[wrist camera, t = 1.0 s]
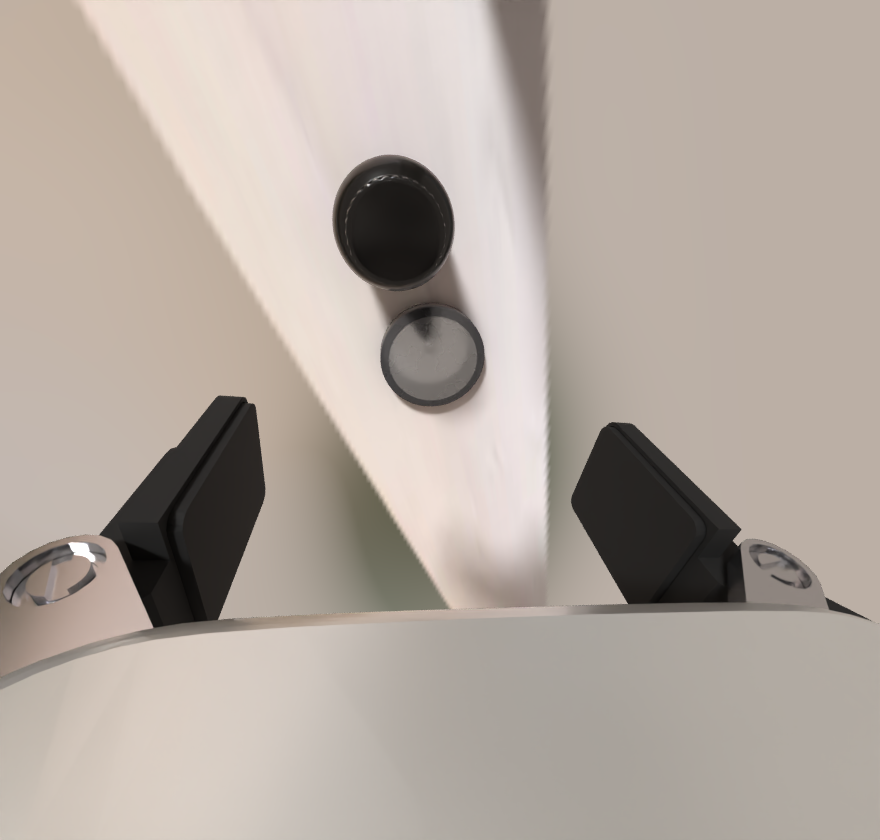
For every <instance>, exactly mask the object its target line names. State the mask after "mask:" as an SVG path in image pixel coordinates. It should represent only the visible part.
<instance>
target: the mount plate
mask: <svg viewBox="0 0 880 840" xmlns="http://www.w3.org/2000/svg"><path fill="white" fill-rule="evenodd" d="M483 364H484V346H483V342H482V339H481V336H480V334H479V332H478V330H477V329H476V327H475V326H474V325H473V323H472V322H471V321H470V319H469V318H468V317H467V316H466V315H464V314H463V313H462V312H460V311H459V310H457V309H455V308H453V307H451V306H448V305H444V304H439V303H426V304H421V305H417V306H414V307H411V308H409V309H407V310H405V311H404V312H403V313H401V314H400V315H399V316H397V317H396V318H395V319H394V320H393V322H392V323H391V324H390V325H389V327H388V328H387V330H386V332H385V334H384V337H383V340H382V344H381V368H382V372H383V375H384V377H385V380H386V381H387V383H388V385H389V386H390V387H391V389H392V390H393V391H394V392H395V393H396V394H397V395H399V396H400V397H401V398H403V399H405V400H407V401H409V402H411V403H414V404H417V405H422V406H439V405H444V404H447V403H450V402H452V401H455V400H457V399H458V398H460V397H462V396H463V395H464V394H465V393H467V392H468V391H469V390H470V389H471V388H472V387H473V385H474V384H475V383H476V381H477V379H478V378H479V376H480V373H481V371H482V368H483Z"/></svg>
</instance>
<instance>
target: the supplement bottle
mask: <svg viewBox="0 0 880 840" xmlns="http://www.w3.org/2000/svg"><path fill="white" fill-rule="evenodd" d="M332 221H333V232H334V236H335V240H336V244H337V246H338V249H339V251H340V253H341V255H342V257H343V259H344V260H345V262H346V263H347V265H348V266H349V267H350V269H351V270H352V271H353V272H354V273H355V274H356V275H357V276H359V277H360V278H361V279H362V280H364V281H365V282H367V283H369V284H371V285H373V286H375V287H378V288H380V289H384V290H390V291H404V290H409V289H413V288H416V287H418V286H421V285H423V284H424V283H426V282H427V281H429V280H430V279H432V278H433V277H434V276H435V275H436V274H437V273H438V272H439V271H440V269H441V268H442V267H443V265H444V263H445V262H446V260H447V258H448V256H449V253H450V251H451V248H452V244H453V239H454V231H455V223H454V214H453V209H452V205H451V202H450V199H449V197H448V194H447V192H446V190H445V189H444V187H443V185H442V184H441V182H440V181H439V180H438V178H437V177H436V176H435V175H434V174H433V173H432V172H431V171H430V170H429V169H428V168H426V167H425V166H424V165H422V164H420V163H419V162H417V161H415V160H413V159H410V158H407V157H404V156H399V155H381V156H377V157H373V158H371V159H368V160H366V161H364V162H362V163H361V164H359V165H358V166H357V167H355V168H354V169H353V170H352V171H351V172H350V173H349V174H348V175H347V177H346V178H345V179H344V181H343V183H342V184H341V186H340V188H339V190H338V192H337V195H336V198H335V202H334V207H333V218H332Z"/></svg>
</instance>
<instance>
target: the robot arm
mask: <svg viewBox="0 0 880 840" xmlns="http://www.w3.org/2000/svg"><path fill="white" fill-rule="evenodd" d="M264 497H265V482H264V473H263V464H262V456H261V447H260V439H259V430H258V422H257V415H256V407H255V405H254V404H250V403H248V402H247V400H246V398H245V397H234V396H218V397H216V398H215V400H214V401H213V402H212V403H211V405H210V406H209V407H208V409H207V410H206V411H205V412H204V414H203V415H202V416H201V417H200V419H199V420H198V421H197V422H196V424H195V425H194V426H193V427H192V429H191V430H190V431H189V432H188V434H187V435H186V436H185V438H184V439H183V440H182V441H181V443H180V444H179V445H178V446H177V447H175V448H172V449H170V450H169V451H168V452H167V453H166V454H165V455H164V456H163V458H162V459H161V460H160V461H159V463H158V464H157V465H156V466H155V467H154V469H153V470H152V471H151V472H150V474H149V475H148V476H147V477H146V478H145V480H144V481H143V482H142V483H141V485H140V486H139V487H138V488H137V489H136V491H135V492H134V493H133V494H132V495H131V497H130V498H129V499H128V500H127V502H126V503H125V504H124V505H123V507H122V508H121V509H120V510H119V511H118V513H117V514H116V515H115V516H114V518H113V519H112V520H111V521H110V523H109V524H108V525H107V526H106V527H105V529H104V530H103V531H102V532H101V533H100V535H80V536H72V537H67V538H63V539H60V540H57V541H53V542H50V543H47V544H45V545H43V546H41V547H39V548H36V549H34V550H32V551H30V552H28V553H27V554H25V555H24V556H22V557H20V558H19V559H17V560H16V561H14V562H13V563H12V564H10V565H9V566H8V567H7V568H6V569H5V570H4V571H3V572H1V573H0V840H880V624H879V623H876V622H873V621H871V620H869V619H867V618H865V617H863V616H861V615H859V614H857V613H855V612H853V611H851V610H849V609H847V608H845V607H843V606H841V605H839V604H837V603H835V602H833V601H831V600H829V599H828V598H826V597H825V596H824V593H823V590H822V587H821V584H820V582H819V580H818V578H817V576H816V575H815V574H814V573H813V572H812V571H811V570H810V568H809V567H808V566H807V565H805V564H804V563H803V562H802V561H801V560H799V559H798V558H797V557H795V556H794V555H792V554H791V553H789V552H788V551H786V550H784V549H782V548H780V547H778V546H776V545H774V544H771V543H769V542H766V541H763V540H758V539H746V540H745V541H743V542H742V543H741V544H740V545H739V546H737V545H736V544H735V543H734V542H733V539H734V538H735V537H736V536H737V534H738V533H739V532H740V531H741V528H740V527H739V526H737V524H735V522H733V521H732V520H731V519H730V518H729V517H728V516H727V515H726V514H725V513H724V512H723V511H722V510H721V509H720V508H719V507H718V506H717V505H716V504H715V503H714V502H713V501H711V499H710V498H709V497H708V496H706V495H705V494H704V493H703V492H702V491H701V490H700V489H699V488H698V487H697V486H696V485H695V484H694V483H693V482H692V481H691V480H690V479H689V478H688V477H687V476H686V475H685V474H684V473H683V472H682V471H681V470H680V469H679V468H678V467H677V466H676V465H675V464H674V463H673V462H671V461H670V460H669V459H668V458H667V457H666V456H665V455H664V454H663V453H662V452H661V451H660V450H659V449H658V448H657V447H656V446H655V445H654V444H653V443H652V442H651V441H650V440H649V439H648V438H647V437H646V436H645V435H644V434H643V433H642V432H640V430H638V429H637V428H636V427H635V426H634V425H633V424H630V423H615V422H612V423H609V424H608V425H607V426H606V427H604V428H603V429H602V430H601V431H600V433H599V436H598V438H597V440H596V442H595V445H594V447H593V449H592V452H591V454H590V456H589V459H588V461H587V463H586V465H585V468H584V470H583V472H582V474H581V477H580V479H579V481H578V483H577V486H576V488H575V490H574V493H573V495H572V499H571V503H572V507H573V509H574V511H575V513H576V515H577V516H578V518H579V520H580V522H581V523H582V525H583V527H584V529H585V530H586V532H587V534H588V536H589V537H590V539H591V541H592V542H593V544H594V546H595V548H596V549H597V551H598V553H599V555H600V556H601V558H602V560H603V561H604V563H605V565H606V567H607V568H608V570H609V572H610V574H611V575H612V577H613V579H614V580H615V582H616V583H617V586H618V587H619V589H620V591H621V593H622V594H623V596H624V598H625V599H626V601H627V603H628V604H618V605H582V606H581V605H579V606H543V607H510V608H477V609H446V610H418V611H389V612H362V613H361V612H360V613H332V614H311V615H291V616H273V617H253V618H234V619H224V620H218V618H219V616H220V613H221V610H222V608H223V605H224V603H225V600H226V597H227V595H228V592H229V590H230V587H231V584H232V582H233V579H234V577H235V574H236V572H237V569H238V566H239V564H240V561H241V558H242V556H243V553H244V551H245V548H246V546H247V543H248V540H249V538H250V535H251V533H252V530H253V527H254V525H255V522H256V520H257V517H258V514H259V512H260V509H261V507H262V504H263V501H264Z"/></svg>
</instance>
